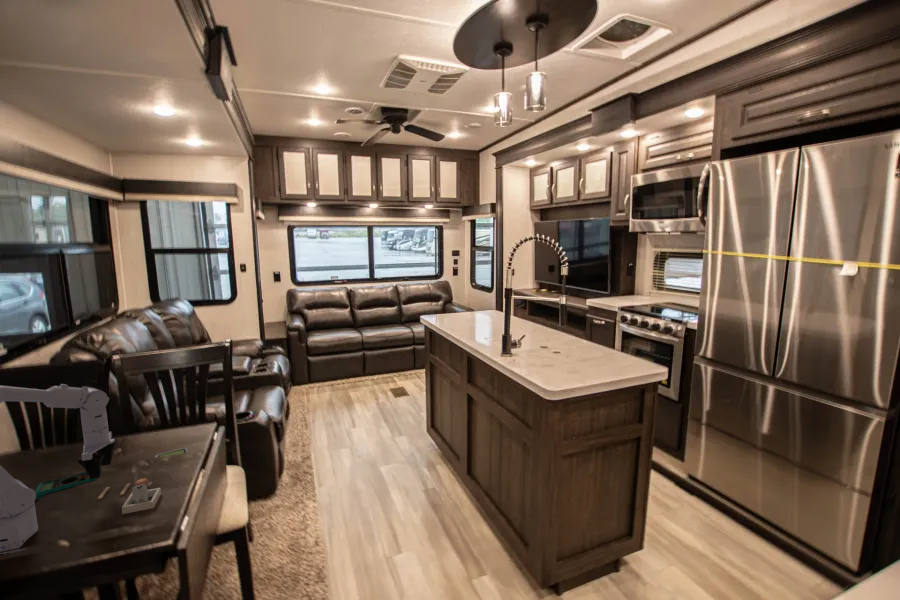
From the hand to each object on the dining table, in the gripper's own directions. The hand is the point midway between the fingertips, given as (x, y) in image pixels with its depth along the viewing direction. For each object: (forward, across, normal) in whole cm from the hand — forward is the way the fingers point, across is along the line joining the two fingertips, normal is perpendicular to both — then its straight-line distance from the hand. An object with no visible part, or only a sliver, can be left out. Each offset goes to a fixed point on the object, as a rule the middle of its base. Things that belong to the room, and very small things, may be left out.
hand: (100, 471), depth 121 cm
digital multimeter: (+11, +14, +14) cm, 22 cm away
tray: (+10, -8, -12) cm, 17 cm away
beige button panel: (+10, +2, -6) cm, 12 cm away
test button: (+8, +2, -9) cm, 12 cm away
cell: (+9, -8, -12) cm, 17 cm away
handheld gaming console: (+11, +20, -13) cm, 26 cm away
